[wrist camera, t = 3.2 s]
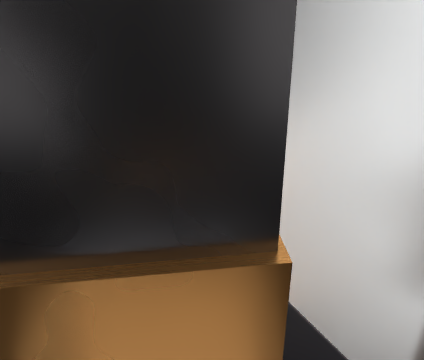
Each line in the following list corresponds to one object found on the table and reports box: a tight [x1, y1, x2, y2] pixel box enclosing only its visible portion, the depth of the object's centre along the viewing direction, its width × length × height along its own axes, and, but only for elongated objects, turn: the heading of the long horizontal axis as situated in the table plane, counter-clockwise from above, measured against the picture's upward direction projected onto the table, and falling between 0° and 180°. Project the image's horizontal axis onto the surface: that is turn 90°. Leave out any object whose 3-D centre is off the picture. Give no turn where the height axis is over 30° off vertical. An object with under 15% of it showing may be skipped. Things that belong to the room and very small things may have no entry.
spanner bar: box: [0, 0, 297, 360], centre depth 7 cm, size 14×3×4 cm, turn 1°
